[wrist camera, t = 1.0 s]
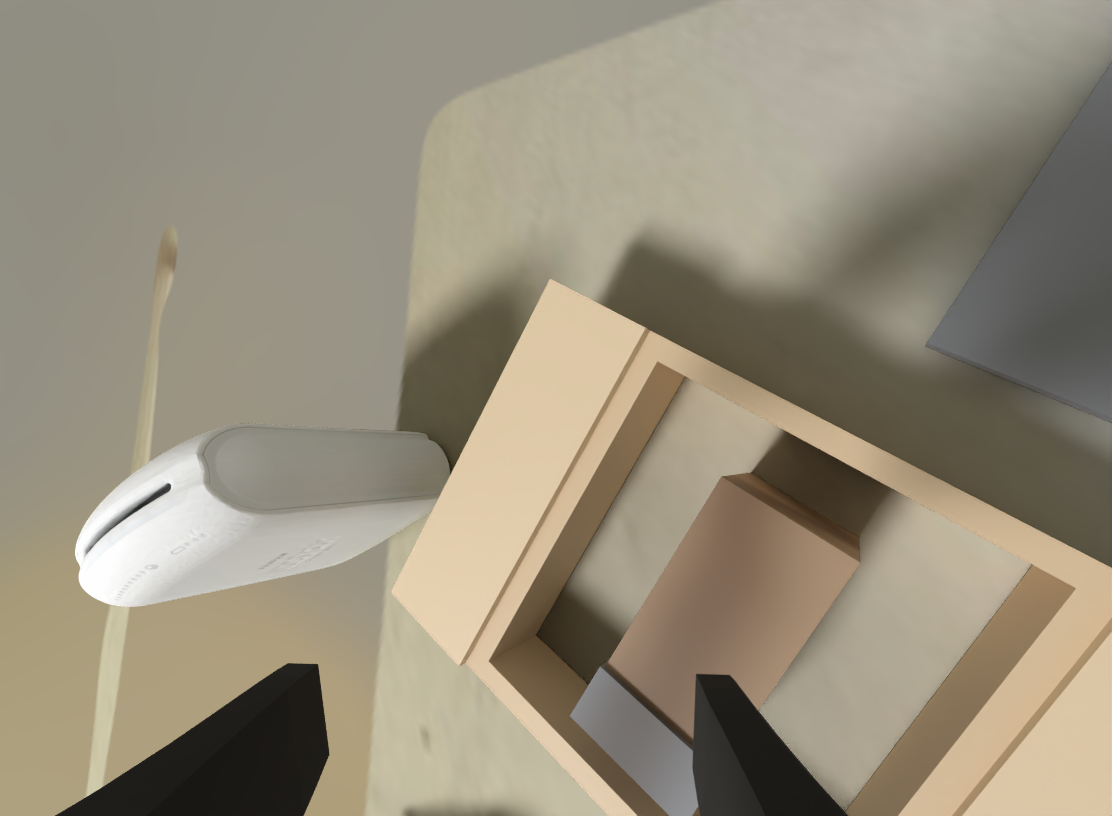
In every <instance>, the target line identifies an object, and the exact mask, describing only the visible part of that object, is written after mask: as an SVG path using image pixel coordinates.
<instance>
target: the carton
mask: <svg viewBox="0 0 1112 816" xmlns="http://www.w3.org/2000/svg"><path fill="white" fill-rule="evenodd" d="M685 376H686V377H687V378H689V379H691V380H693V381H695V382H697V383H698V384H700V385H702V386H704V387H706V388H708V389H709V390H711V391H713V392H715V393H717V394H719V395H721V396H722V397H724V398H726V399H728V400H730V401H732V402H733V403H735V404H737V405H739V406H741V407H743V408H745V409H746V410H748V411H750V412H752V413H754V414H756V415H757V416H759V417H761V418H763V419H765V420H767V421H768V422H770V423H772V424H774V425H776V426H778V427H780V428H781V429H783V430H785V431H787V432H789V433H791V434H792V435H794V436H796V437H798V438H800V439H802V440H804V441H805V442H807V443H809V444H811V445H813V446H815V447H816V448H818V449H820V450H822V451H824V452H826V453H827V454H829V455H831V456H833V457H835V458H837V459H839V460H840V461H842V462H844V463H846V464H848V465H850V466H851V467H853V468H855V469H857V470H859V471H861V472H863V473H864V474H866V475H868V476H870V477H872V478H874V479H875V480H877V481H879V482H881V483H883V484H885V485H887V486H888V487H890V488H892V489H894V490H896V491H898V492H899V493H901V494H903V495H905V496H907V497H909V498H910V499H912V500H914V501H916V502H918V503H920V504H922V505H923V506H925V507H927V508H929V509H931V510H933V511H934V512H936V513H938V514H940V515H942V516H944V517H946V518H947V519H949V520H951V521H953V522H955V523H957V524H958V525H960V526H962V527H964V528H966V529H968V530H969V531H971V532H973V533H975V534H977V535H979V536H981V537H982V538H984V539H986V540H988V541H990V542H992V543H993V544H995V545H997V546H999V547H1001V548H1003V549H1005V550H1006V551H1008V552H1010V553H1012V554H1014V555H1016V556H1017V557H1019V558H1021V559H1023V560H1025V561H1027V562H1028V563H1030V564H1032V566H1031V568H1030V569H1029V570H1028V572H1027V573H1026V574H1025V576H1024V577H1023V578H1022V579H1021V581H1020V582H1019V583H1018V585H1017V586H1016V587H1015V589H1014V590H1013V591H1012V593H1011V594H1010V595H1009V597H1008V598H1007V599H1006V601H1005V602H1004V603H1003V604H1002V606H1001V607H1000V608H999V610H998V611H997V612H996V614H995V615H994V616H993V618H992V619H991V620H990V622H989V623H988V624H987V626H986V627H985V628H984V630H983V631H982V632H981V633H980V635H979V636H978V637H977V639H976V640H975V641H974V643H973V644H972V645H971V647H970V648H969V649H968V651H967V652H966V653H965V655H964V656H963V657H962V659H961V660H960V661H959V662H958V664H957V665H956V666H955V668H954V669H953V670H952V672H951V673H950V674H949V676H948V677H947V678H946V680H945V681H944V682H943V684H942V685H941V686H940V687H939V689H938V690H937V691H936V693H935V694H934V695H933V697H932V698H931V699H930V701H929V702H928V703H927V705H926V706H925V707H924V709H923V710H922V711H921V713H920V714H919V715H918V716H917V718H916V719H915V720H914V722H913V723H912V724H911V726H910V727H909V728H908V730H907V731H906V732H905V734H904V735H903V736H902V738H901V739H900V740H899V742H898V743H897V744H896V745H895V747H894V748H893V749H892V751H891V752H890V753H889V755H888V756H887V757H886V759H885V760H884V761H883V763H882V764H881V765H880V767H879V768H878V769H877V770H876V772H875V773H874V774H873V776H872V777H871V778H870V780H869V781H868V782H867V784H866V785H865V786H864V788H863V789H862V790H861V792H860V793H859V794H858V796H857V797H856V798H855V799H854V801H853V802H852V803H851V805H850V806H849V807H848V809H847V810H846V811H845V813H846V814H847V815H848V816H1112V568H1111V567H1109V566H1107V565H1105V564H1103V563H1101V562H1099V561H1097V560H1095V559H1093V558H1091V557H1090V556H1088V555H1086V554H1084V553H1082V552H1080V551H1078V550H1076V549H1074V548H1072V547H1070V546H1068V545H1066V544H1064V543H1062V542H1060V541H1058V540H1056V539H1055V538H1053V537H1051V536H1049V535H1047V534H1045V533H1043V532H1041V531H1039V530H1037V529H1035V528H1033V527H1031V526H1029V525H1027V524H1025V523H1023V522H1021V521H1020V520H1018V519H1016V518H1014V517H1012V516H1010V515H1008V514H1006V513H1004V512H1002V511H1000V510H998V509H996V508H994V507H992V506H990V505H988V504H986V503H985V502H983V501H981V500H979V499H977V498H975V497H973V496H971V495H969V494H967V493H965V492H963V491H961V490H959V489H957V488H955V487H953V486H951V485H950V484H948V483H946V482H944V481H942V480H940V479H938V478H936V477H934V476H932V475H930V474H928V473H926V472H924V471H922V470H920V469H918V468H916V467H915V466H913V465H911V464H909V463H907V462H905V461H903V460H901V459H899V458H897V457H895V456H893V455H891V454H889V453H887V452H885V451H883V450H881V449H880V448H878V447H876V446H874V445H872V444H870V443H868V442H866V441H864V440H862V439H860V438H858V437H856V436H854V435H852V434H850V433H848V432H846V431H845V430H843V429H841V428H839V427H837V426H835V425H833V424H831V423H829V422H827V421H825V420H823V419H821V418H819V417H817V416H815V415H813V414H811V413H810V412H808V411H806V410H804V409H802V408H800V407H798V406H796V405H794V404H792V403H790V402H788V401H786V400H784V399H782V398H780V397H778V396H776V395H775V394H773V393H771V392H769V391H767V390H765V389H763V388H761V387H759V386H757V385H755V384H753V383H751V382H749V381H747V380H745V379H743V378H741V377H740V376H738V375H736V374H734V373H732V372H730V371H728V370H726V369H724V368H722V367H720V366H718V365H716V364H714V363H712V362H710V361H708V360H706V359H705V358H703V357H701V356H699V355H697V354H695V353H693V352H691V351H689V350H687V349H685V348H683V347H681V346H679V345H677V344H675V343H673V342H671V341H670V340H668V339H666V338H664V337H662V336H660V335H658V334H656V333H654V332H652V331H650V330H648V329H647V328H645V327H643V326H641V325H639V324H637V323H635V322H633V321H631V320H630V319H628V318H626V317H624V316H622V315H620V314H618V313H616V312H614V311H612V310H610V309H608V308H606V307H604V306H602V305H600V304H598V303H596V302H595V301H593V300H591V299H589V298H587V297H585V296H583V295H581V294H579V293H577V292H575V291H573V290H571V289H569V288H567V287H565V286H563V285H561V284H559V283H558V282H556V281H554V280H552V279H550V280H549V282H548V284H547V286H546V288H545V290H544V292H543V294H542V295H541V297H540V299H539V301H538V303H537V305H536V307H535V309H534V311H533V313H532V315H531V317H530V319H529V321H528V323H527V325H526V327H525V329H524V331H523V333H522V335H521V337H520V339H519V341H518V343H517V345H516V347H515V349H514V351H513V353H512V355H511V357H510V359H509V360H508V362H507V364H506V366H505V368H504V370H503V372H502V374H501V376H500V378H499V380H498V382H497V384H496V386H495V388H494V390H493V392H492V394H491V396H490V398H489V400H488V402H487V404H486V406H485V408H484V410H483V412H482V414H481V416H480V418H479V420H478V422H477V424H476V425H475V427H474V429H473V431H472V433H471V435H470V437H469V439H468V441H467V443H466V445H465V447H464V449H463V451H462V453H461V455H460V457H459V459H458V461H457V463H456V465H455V467H454V469H453V471H452V473H451V475H450V477H449V479H448V481H447V483H446V485H445V487H444V488H443V490H442V492H441V494H440V496H439V498H438V500H437V502H436V504H435V506H434V508H433V510H432V512H431V514H430V516H429V518H428V520H427V522H426V524H425V526H424V528H423V530H422V532H421V534H420V536H419V538H418V540H417V542H416V544H415V546H414V548H413V550H412V552H411V553H410V555H409V557H408V559H407V561H406V563H405V565H404V567H403V569H402V571H401V573H400V575H399V577H398V579H397V581H396V583H395V585H394V587H393V589H392V591H391V593H392V594H393V595H394V596H395V598H396V599H397V600H398V601H399V602H400V603H401V604H402V605H403V606H404V607H405V608H406V609H407V611H408V612H409V613H410V614H411V615H412V616H413V617H414V618H415V619H416V620H417V621H418V622H419V624H420V625H421V626H422V627H423V628H424V629H425V630H426V631H427V632H428V633H429V634H430V635H431V637H432V638H433V639H434V640H435V641H436V642H437V643H438V644H439V645H440V646H441V647H442V648H443V650H444V651H445V652H446V653H447V654H448V655H449V656H450V657H451V658H452V659H453V660H454V661H455V663H456V664H457V665H458V666H460V665H462V664H464V663H466V664H467V665H468V666H469V667H470V668H471V669H472V670H473V671H474V672H475V674H476V675H477V676H478V677H479V678H480V679H481V680H482V681H483V682H484V683H485V684H486V685H487V686H488V687H489V688H490V690H491V691H492V692H493V693H494V694H495V695H496V696H497V697H498V698H499V699H500V700H501V701H502V702H503V703H504V705H505V706H506V707H507V708H508V709H509V710H510V711H511V712H512V713H513V714H514V715H515V716H516V717H517V718H518V719H519V721H520V722H521V723H522V724H523V725H524V726H525V727H526V728H527V729H528V730H529V731H530V732H531V733H532V734H533V736H534V737H535V738H536V739H537V740H538V741H539V742H540V743H541V744H542V745H543V746H544V747H545V748H546V749H547V750H548V752H549V753H550V754H551V755H552V756H553V757H554V758H555V759H556V760H557V761H558V762H559V763H560V764H561V765H562V766H563V768H564V769H565V770H566V771H567V772H568V773H569V774H570V775H571V776H572V777H573V778H574V779H575V780H576V781H577V783H578V784H579V785H580V786H581V787H582V788H583V789H584V790H585V791H586V792H587V793H588V794H589V795H590V796H591V797H592V799H593V800H594V801H595V802H596V803H597V804H598V805H599V806H600V807H601V808H602V809H603V810H604V811H605V812H606V814H607V815H608V816H669V815H668V814H667V813H666V812H665V811H664V810H663V809H662V808H661V807H660V806H659V805H658V804H657V803H656V802H655V801H654V800H653V799H652V798H651V797H650V796H649V795H648V794H647V793H646V792H645V791H644V790H643V789H642V788H641V787H640V786H639V785H638V784H637V783H636V782H635V781H634V780H633V779H632V778H631V777H630V776H629V775H628V774H627V773H626V772H625V771H624V770H623V769H622V768H621V767H620V766H619V765H618V764H617V763H616V762H615V761H614V760H613V759H612V758H611V757H610V756H609V755H608V754H607V753H606V752H605V751H604V750H603V749H602V748H601V747H600V746H599V745H598V744H597V743H596V742H595V741H594V740H593V739H592V738H591V737H590V736H589V735H588V734H587V733H586V732H585V731H584V730H583V729H582V728H581V727H580V726H579V725H578V724H577V723H576V722H575V721H574V720H573V719H572V718H571V717H570V715H571V713H572V711H573V710H574V708H575V707H576V705H577V703H578V702H579V700H580V698H581V697H582V695H583V693H584V692H585V690H586V688H587V687H588V684H587V683H586V682H585V681H584V680H583V679H582V678H581V677H579V676H578V675H577V674H576V673H575V672H574V671H573V670H572V669H571V668H570V667H569V666H568V665H567V664H566V663H565V662H564V661H563V660H562V659H560V658H559V657H558V656H557V655H556V654H555V653H554V652H553V651H552V650H551V649H550V648H549V647H548V646H547V645H546V644H545V643H544V642H542V641H541V640H540V639H539V638H538V637H537V636H536V634H537V632H538V631H539V629H540V627H541V625H542V624H543V622H544V620H545V619H546V617H547V615H548V613H549V612H550V610H551V608H552V606H553V605H554V603H555V601H556V599H557V598H558V596H559V594H560V593H561V591H562V589H563V587H564V586H565V584H566V582H567V580H568V579H569V577H570V575H571V573H572V572H573V570H574V568H575V567H576V565H577V563H578V561H579V560H580V558H581V556H582V554H583V553H584V551H585V549H586V547H587V546H588V544H589V542H590V540H591V539H592V537H593V535H594V534H595V532H596V530H597V528H598V527H599V525H600V523H601V521H602V520H603V518H604V516H605V514H606V513H607V511H608V509H609V508H610V506H611V504H612V502H613V501H614V499H615V497H616V495H617V494H618V492H619V490H620V488H621V487H622V485H623V483H624V482H625V480H626V478H627V476H628V475H629V473H630V471H631V469H632V468H633V466H634V464H635V462H636V461H637V459H638V457H639V455H640V454H641V452H642V450H643V449H644V447H645V445H646V443H647V442H648V440H649V438H650V436H651V435H652V433H653V431H654V429H655V428H656V426H657V424H658V423H659V421H660V419H661V417H662V416H663V414H664V412H665V410H666V409H667V407H668V405H669V403H670V402H671V400H672V398H673V397H674V395H675V393H676V391H677V390H678V388H679V386H680V384H681V383H682V381H683V379H684V377H685ZM692 816H700V813H699V807H698V808H697V809H696V811H695V812H694V813H693V815H692Z"/></svg>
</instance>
